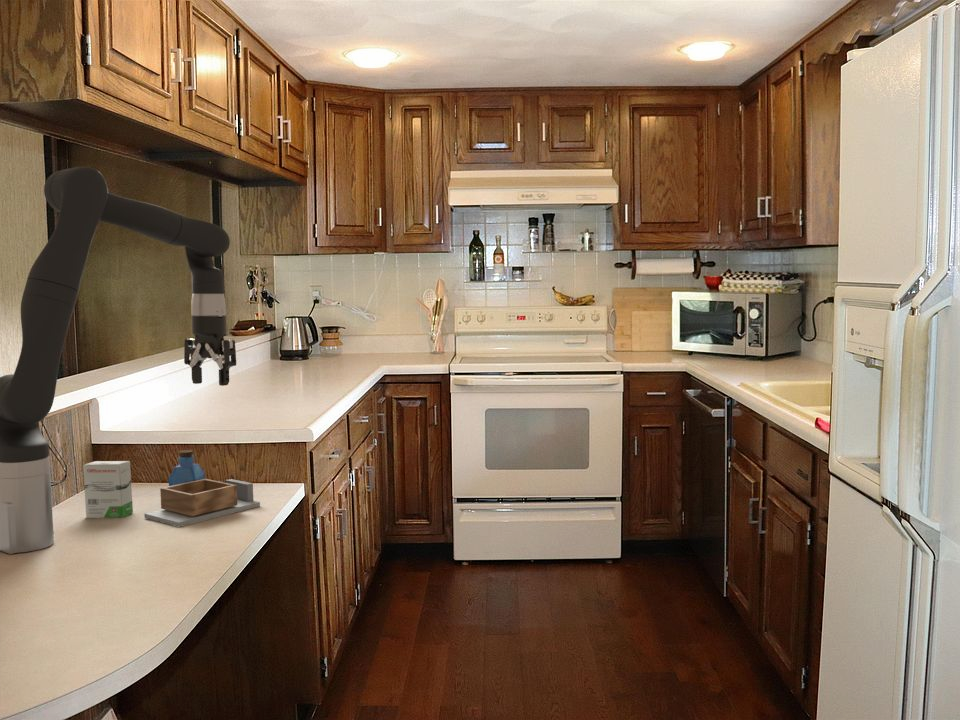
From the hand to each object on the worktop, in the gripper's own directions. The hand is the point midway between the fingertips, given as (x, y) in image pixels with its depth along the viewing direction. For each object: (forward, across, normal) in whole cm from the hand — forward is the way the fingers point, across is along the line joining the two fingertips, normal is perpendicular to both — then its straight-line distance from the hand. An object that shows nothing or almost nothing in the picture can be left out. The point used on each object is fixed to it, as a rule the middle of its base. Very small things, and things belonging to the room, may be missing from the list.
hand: (210, 384), depth 199 cm
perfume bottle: (+28, -6, -3) cm, 28 cm away
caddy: (+26, +5, -9) cm, 28 cm away
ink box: (+28, -12, -19) cm, 36 cm away
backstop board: (+28, +5, -8) cm, 29 cm away
